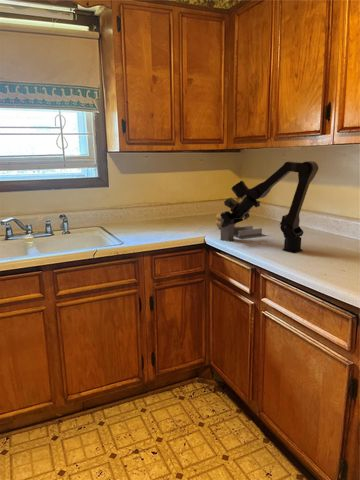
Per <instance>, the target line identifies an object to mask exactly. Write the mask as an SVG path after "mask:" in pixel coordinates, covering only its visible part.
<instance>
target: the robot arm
mask: <svg viewBox="0 0 360 480" xmlns="http://www.w3.org/2000/svg"><path fill="white" fill-rule="evenodd" d="M291 172H292V173H293V172H294V173H297V177H298V178H297V179H298V182H297V186H296V189H295V193H294V195H293V198H292V201H291V204H290V208H289V211H288V212H287V214H285V215H282V217H281V222H280V223H279V227H280V230H281V232H282V233H283V237H284V240H283V241H284V243H283V248H282V249H281V250H282V251H284V252H285V251H286V252H289V253H293V254H295V253H299V252H303V251H304V250H303V249H302V236H303V235H304V230H303V229H302V228H301V227H300V220H301V219H300V214H301V211H302V207H303V204H304V202H305V199H306V196H307V192H308V189H309V187H310V184H311V182H312V181H313V180H314V178H315V177H316V175H317V173H318V172H319V165H318V163H317V162H316V161H312V160H310V161H304V162H297V161H296V162H295V161H286V162H284V164H283V165H281V166H280V167H279V168H278V169H276V171H275V172H273V173H272V174H271V175H270V176H269V177H268V178H267V179H266V180H264V181H262V182H260V183H258V184H256V185H254V186H253V187H252V188H249V187H248V186H247V184H245V181H244V180H240V181H239V182H237V183H236V184H234V185H233V186H232V187H231V191H232V192H233V194H234V195H235V196H236V198H237V199H241V201H240V202H238V201H237V200H235V199H234V198H231V197H229V198H227V199H225V200H224V201H223V202H224V203H223V204H224V206H226V207H227V208H229V211H228V210H225V211H221V212H222V213H221V212H220V213H221V217H222V218H223V219H224V221H223V223H222V228H223V227H226V226H228V225H231V224H233V222H234V224H235V223H236V224H237V223H240V222H243V221H245V220H248V219H249V218H250V212H251V209H252V208H258V207H261V201H260V199H264V198H265V197H267V196H268V194H269V193H271V190H272V189H273V187H274V186H275V185H277V184H278V183H279V182H280V181H282V180H283V179H284V178H285V177H286V176H287V175H289V173H291ZM236 224H235V225H236Z"/></svg>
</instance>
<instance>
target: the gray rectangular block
mask: <svg viewBox="0 0 360 480" xmlns="http://www.w3.org/2000/svg"><path fill="white" fill-rule="evenodd" d="M223 221H224V219H223V218H222V217H221V228H220V241H225V242H230V241H232V240H234V238H235V237H234V228H235V226H234V222H233V224H231V225H228V226H226V227H223V228H222V223H223Z"/></svg>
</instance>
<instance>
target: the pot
mask: <svg viewBox="0 0 360 480" xmlns="http://www.w3.org/2000/svg"><path fill="white" fill-rule="evenodd" d="M222 212H223V211H221V212H218V213H217V214H216V215H215V219H216V220H215V225H216V227H217V228H219V229H221V213H222ZM236 225H237V223H235V224H234V227H236Z"/></svg>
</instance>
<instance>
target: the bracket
mask: <svg viewBox="0 0 360 480" xmlns="http://www.w3.org/2000/svg"><path fill="white" fill-rule="evenodd" d="M265 236H266V235H265V234H264V233H263V229H262V227H261V228H254V226H253V225H246V226H234V238H237V239H241V240H244V239H250V238H258V237H265Z"/></svg>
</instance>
